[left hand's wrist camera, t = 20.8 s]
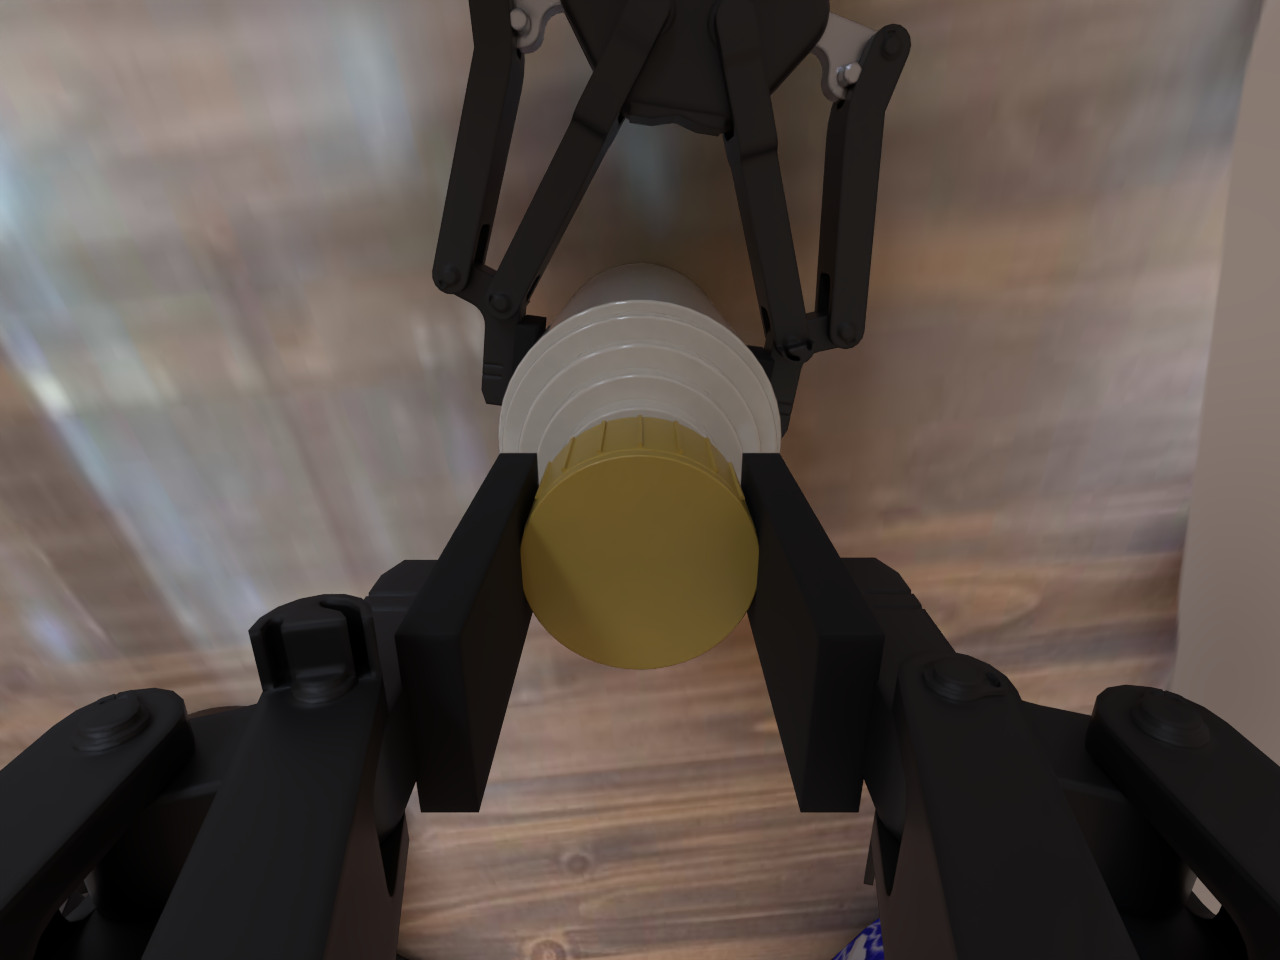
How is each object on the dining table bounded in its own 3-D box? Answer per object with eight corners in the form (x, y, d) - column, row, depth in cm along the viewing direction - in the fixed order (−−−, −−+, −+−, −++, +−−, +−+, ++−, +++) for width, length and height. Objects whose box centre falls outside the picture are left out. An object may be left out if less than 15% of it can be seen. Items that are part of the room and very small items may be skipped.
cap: (516, 580, 15) (495, 645, 13) (558, 389, 13) (542, 424, 11) (709, 623, 15) (722, 693, 13) (771, 442, 14) (797, 485, 12)
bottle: (753, 311, 31) (934, 466, 12) (674, 455, 34) (721, 772, 15) (600, 231, 30) (530, 261, 11) (530, 386, 32) (372, 634, 13)
